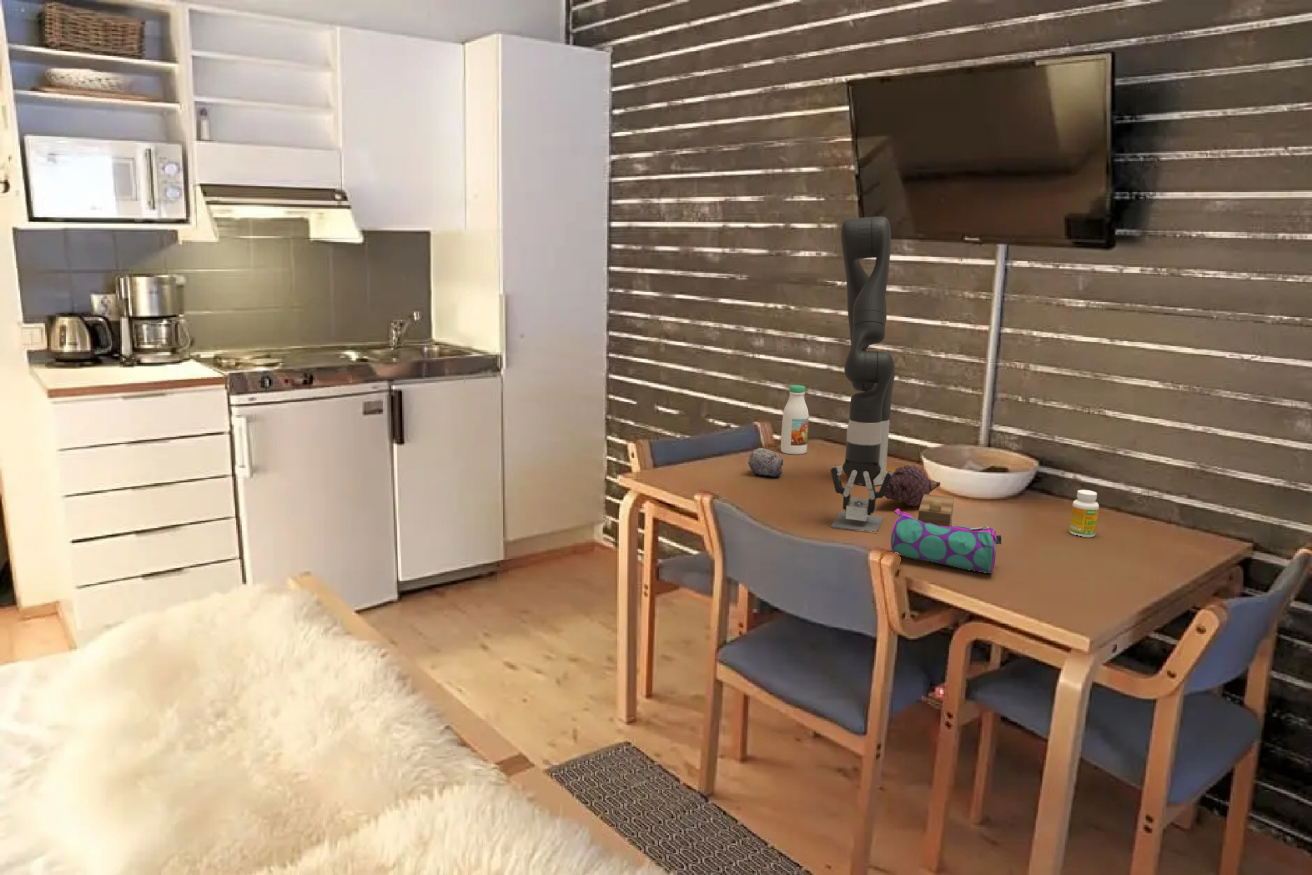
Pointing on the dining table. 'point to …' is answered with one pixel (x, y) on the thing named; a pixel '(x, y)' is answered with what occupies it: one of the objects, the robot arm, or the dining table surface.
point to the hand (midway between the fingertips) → (858, 512)
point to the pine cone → (909, 485)
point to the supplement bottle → (1084, 514)
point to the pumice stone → (765, 462)
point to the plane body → (936, 510)
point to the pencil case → (945, 543)
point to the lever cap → (857, 509)
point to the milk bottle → (795, 422)
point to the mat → (857, 523)
